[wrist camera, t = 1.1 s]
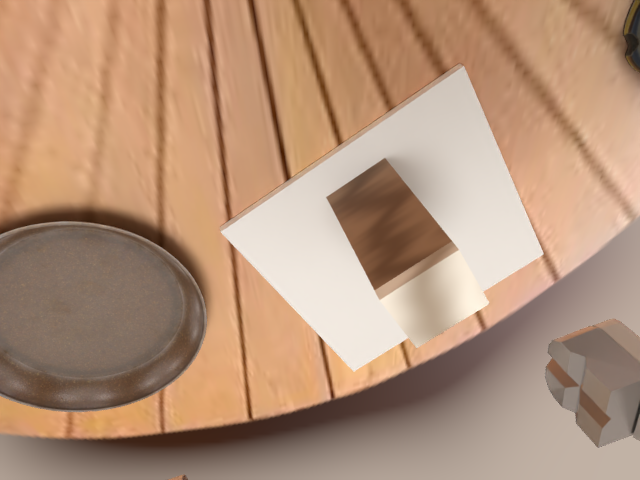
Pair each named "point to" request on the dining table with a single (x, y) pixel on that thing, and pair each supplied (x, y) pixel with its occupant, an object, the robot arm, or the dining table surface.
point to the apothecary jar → (633, 35)
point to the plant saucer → (92, 317)
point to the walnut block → (406, 254)
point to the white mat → (428, 186)
